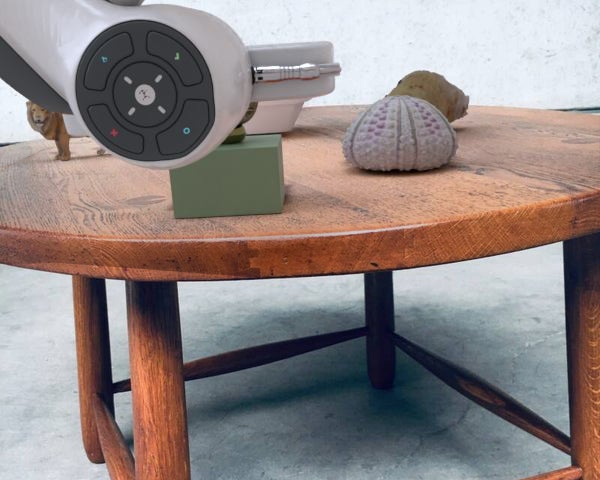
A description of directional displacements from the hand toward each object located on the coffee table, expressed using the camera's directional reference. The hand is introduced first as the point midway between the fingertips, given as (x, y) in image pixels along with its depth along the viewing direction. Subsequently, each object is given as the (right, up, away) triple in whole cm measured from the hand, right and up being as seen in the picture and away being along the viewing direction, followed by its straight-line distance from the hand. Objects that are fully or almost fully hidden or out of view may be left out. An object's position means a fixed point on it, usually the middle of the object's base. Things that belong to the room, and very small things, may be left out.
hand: (208, 71), depth 73 cm
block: (+1, -8, +15) cm, 17 cm away
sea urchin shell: (+19, 0, +32) cm, 37 cm away
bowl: (+1, +16, +73) cm, 75 cm away
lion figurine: (-24, +9, +59) cm, 64 cm away
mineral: (+23, +11, +58) cm, 63 cm away
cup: (0, -2, +13) cm, 13 cm away
